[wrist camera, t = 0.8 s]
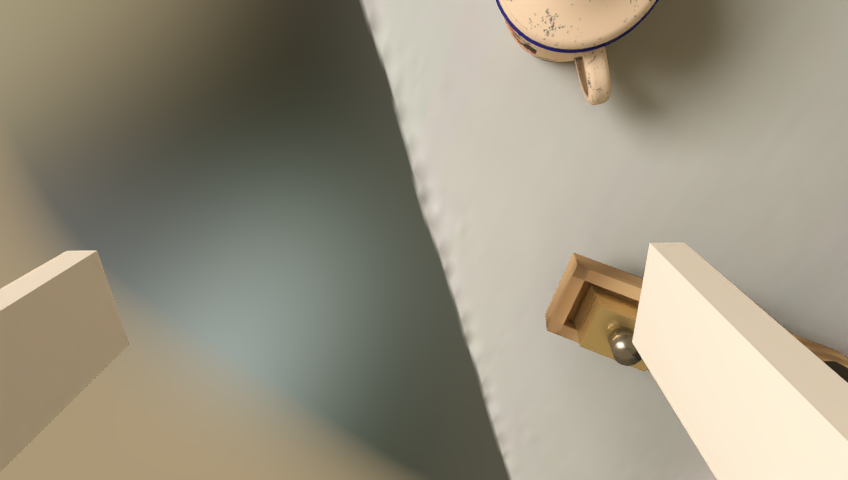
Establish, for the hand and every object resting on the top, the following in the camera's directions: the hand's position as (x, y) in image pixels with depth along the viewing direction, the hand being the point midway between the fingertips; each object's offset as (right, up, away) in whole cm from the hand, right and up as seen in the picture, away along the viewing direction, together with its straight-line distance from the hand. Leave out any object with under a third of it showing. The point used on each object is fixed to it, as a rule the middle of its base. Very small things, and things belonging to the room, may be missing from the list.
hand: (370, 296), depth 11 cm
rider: (+14, -3, +20) cm, 24 cm away
